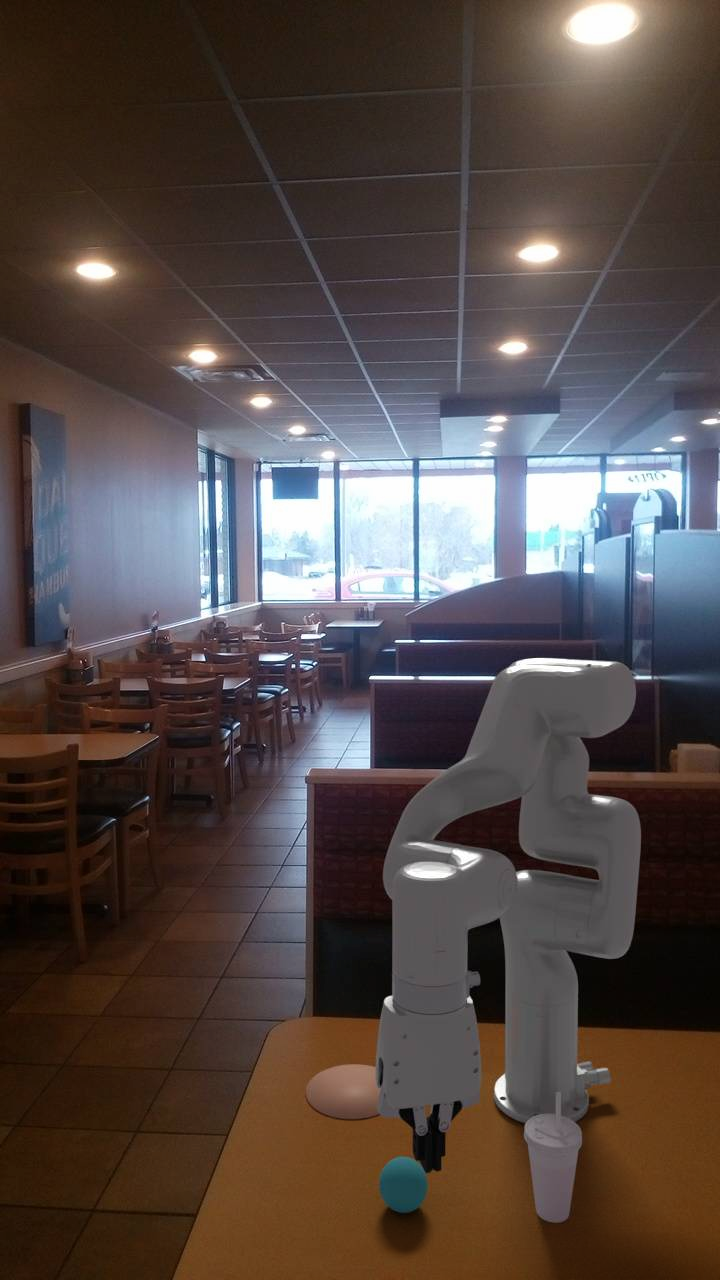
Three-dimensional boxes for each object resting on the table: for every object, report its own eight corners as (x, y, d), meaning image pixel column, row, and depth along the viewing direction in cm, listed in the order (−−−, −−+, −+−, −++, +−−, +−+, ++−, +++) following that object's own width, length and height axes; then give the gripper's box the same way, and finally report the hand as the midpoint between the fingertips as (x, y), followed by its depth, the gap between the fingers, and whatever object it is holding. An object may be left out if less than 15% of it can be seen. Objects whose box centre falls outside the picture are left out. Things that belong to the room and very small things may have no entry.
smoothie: (582, 1235, 102) (583, 1112, 100) (522, 1227, 103) (523, 1106, 102) (580, 1195, 108) (581, 1079, 107) (524, 1188, 109) (524, 1074, 108)
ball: (419, 1187, 110) (418, 1142, 109) (434, 1219, 104) (434, 1172, 104) (373, 1195, 108) (373, 1150, 108) (386, 1228, 103) (386, 1181, 103)
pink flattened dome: (385, 1060, 137) (385, 1058, 137) (411, 1110, 125) (411, 1109, 125) (298, 1073, 134) (298, 1071, 134) (316, 1126, 122) (316, 1124, 122)
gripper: (485, 965, 99) (483, 1131, 101) (348, 981, 96) (348, 1153, 97) (514, 996, 92) (512, 1175, 93) (367, 1014, 88) (367, 1200, 90)
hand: (428, 1163), depth 95 cm, fingers closed
